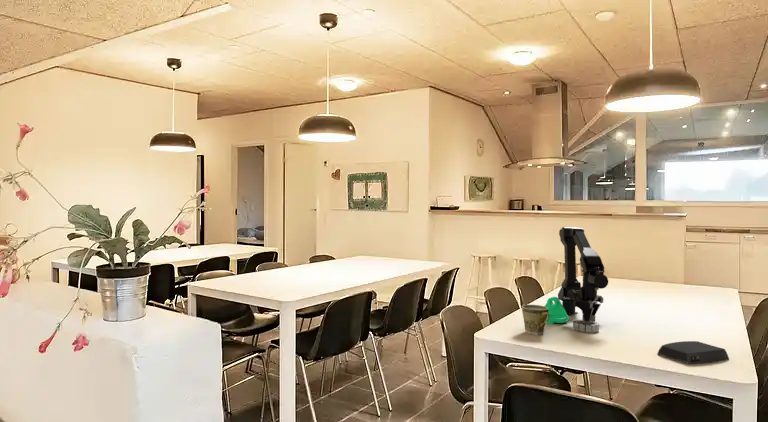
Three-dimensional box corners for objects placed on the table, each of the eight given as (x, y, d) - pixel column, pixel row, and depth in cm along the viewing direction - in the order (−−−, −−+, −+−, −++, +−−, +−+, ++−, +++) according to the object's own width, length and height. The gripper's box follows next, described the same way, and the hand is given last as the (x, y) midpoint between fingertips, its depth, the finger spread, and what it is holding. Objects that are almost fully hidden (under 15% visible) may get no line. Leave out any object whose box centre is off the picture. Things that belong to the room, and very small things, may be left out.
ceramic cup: (515, 330, 204) (516, 305, 204) (536, 328, 208) (536, 303, 208) (537, 339, 192) (538, 312, 192) (559, 337, 196) (559, 310, 196)
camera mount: (533, 320, 223) (534, 297, 223) (541, 318, 229) (541, 294, 228) (561, 325, 215) (562, 301, 215) (568, 322, 221) (569, 298, 221)
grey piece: (577, 325, 215) (577, 318, 215) (601, 329, 209) (601, 322, 209) (569, 329, 207) (569, 322, 207) (594, 334, 202) (594, 326, 201)
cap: (584, 322, 221) (584, 313, 221) (596, 324, 218) (596, 314, 218) (580, 325, 217) (580, 314, 217) (592, 327, 214) (593, 316, 214)
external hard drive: (654, 355, 177) (655, 343, 177) (695, 350, 184) (695, 338, 184) (689, 367, 165) (690, 354, 165) (731, 361, 172) (732, 349, 172)
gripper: (577, 279, 229) (576, 315, 230) (562, 284, 215) (561, 322, 215) (604, 283, 222) (603, 319, 223) (590, 288, 208) (589, 327, 208)
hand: (588, 321), depth 217 cm, fingers open, 5 cm apart
